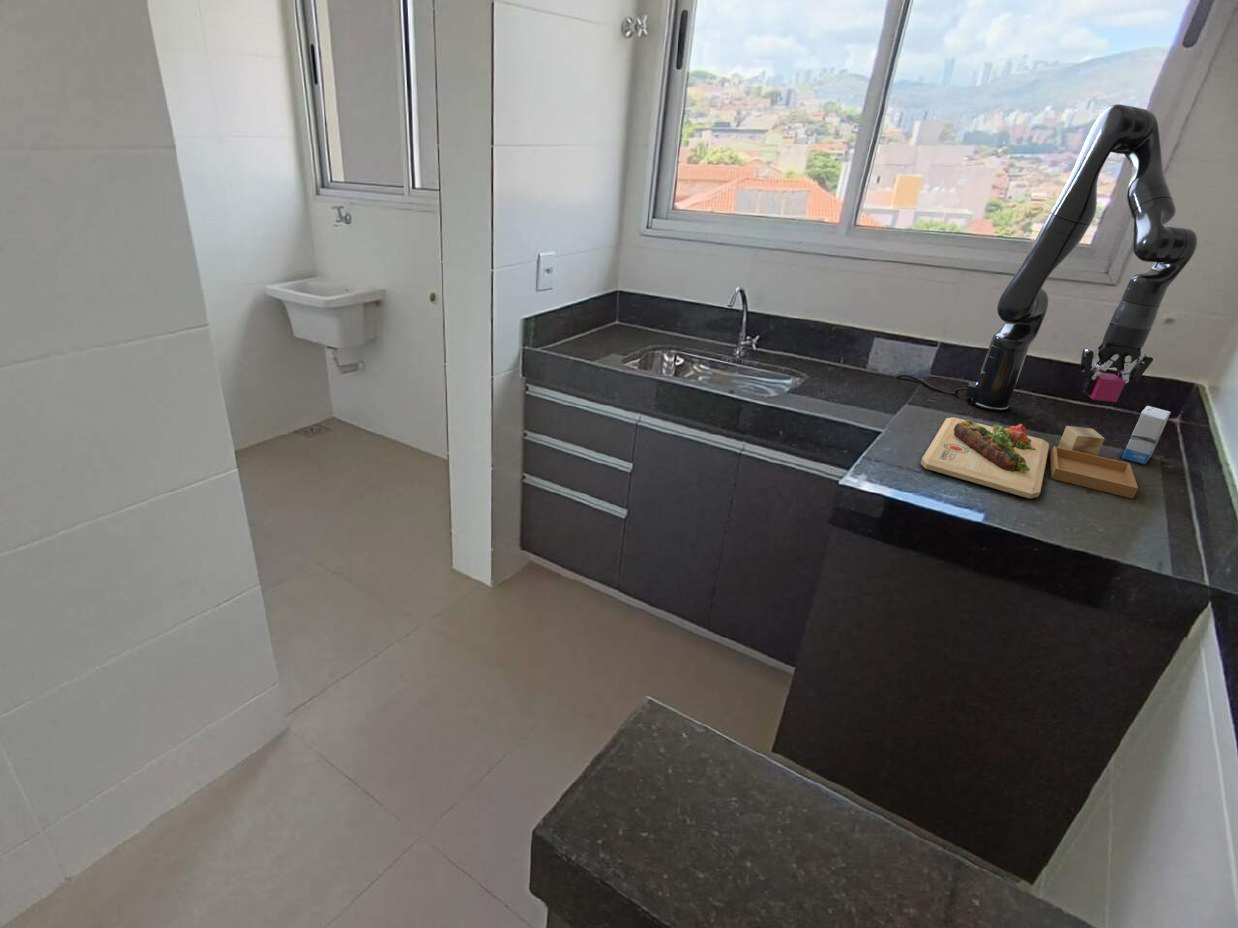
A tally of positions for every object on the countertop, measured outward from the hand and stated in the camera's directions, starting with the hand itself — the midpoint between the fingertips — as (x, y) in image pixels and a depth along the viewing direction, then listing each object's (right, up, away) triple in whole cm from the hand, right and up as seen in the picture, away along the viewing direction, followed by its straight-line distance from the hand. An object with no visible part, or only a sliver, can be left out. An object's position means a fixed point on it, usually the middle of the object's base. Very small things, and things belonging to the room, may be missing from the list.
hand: (1100, 395), depth 151 cm
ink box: (+14, -14, +8) cm, 22 cm away
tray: (-5, -19, -3) cm, 20 cm away
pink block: (0, 0, 0) cm, 0 cm away
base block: (-1, -14, +7) cm, 15 cm away
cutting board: (-25, -15, +2) cm, 29 cm away
